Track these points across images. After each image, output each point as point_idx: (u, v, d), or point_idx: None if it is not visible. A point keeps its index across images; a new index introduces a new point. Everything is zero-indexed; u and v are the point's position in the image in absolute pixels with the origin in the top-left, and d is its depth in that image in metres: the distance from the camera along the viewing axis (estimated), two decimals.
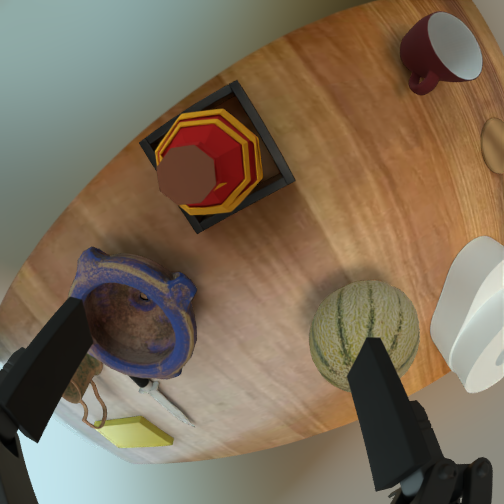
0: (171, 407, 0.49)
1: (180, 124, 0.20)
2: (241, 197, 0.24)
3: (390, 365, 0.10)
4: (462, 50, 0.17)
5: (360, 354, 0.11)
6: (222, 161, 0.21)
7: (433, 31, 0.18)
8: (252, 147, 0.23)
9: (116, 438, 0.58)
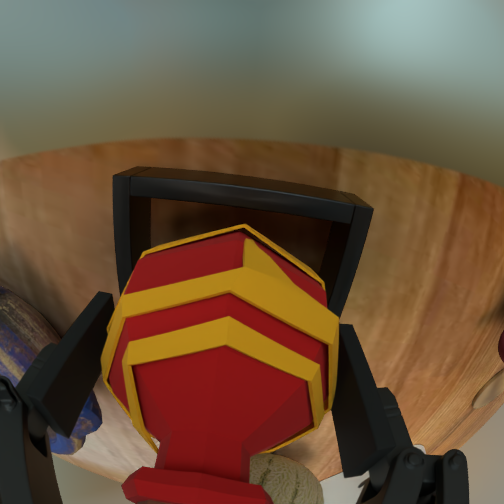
0: None
1: (228, 332, 0.07)
2: None
3: (359, 351, 0.10)
4: None
5: None
6: (261, 450, 0.08)
7: None
8: None
9: None
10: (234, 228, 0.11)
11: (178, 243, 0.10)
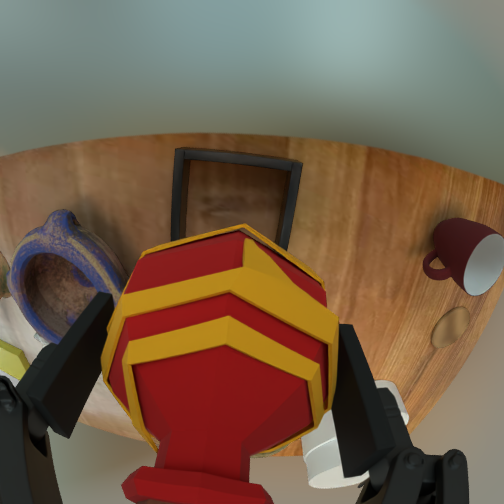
0: None
1: (228, 332, 0.07)
2: None
3: (359, 351, 0.10)
4: (485, 261, 0.26)
5: None
6: (260, 450, 0.08)
7: None
8: None
9: None
10: (234, 228, 0.11)
11: (178, 243, 0.11)
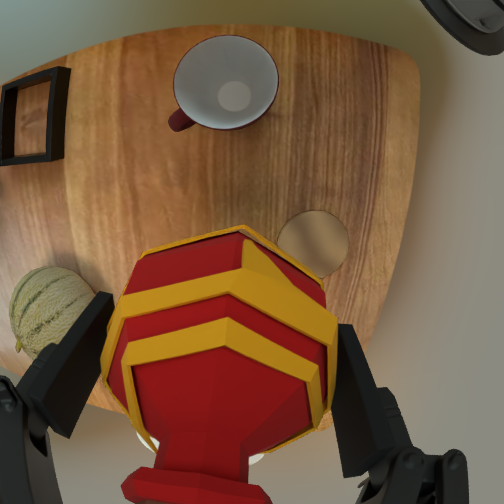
0: None
1: (227, 333, 0.07)
2: None
3: (359, 351, 0.10)
4: None
5: None
6: (259, 451, 0.08)
7: (256, 67, 0.21)
8: None
9: None
10: (233, 229, 0.11)
11: (177, 244, 0.11)
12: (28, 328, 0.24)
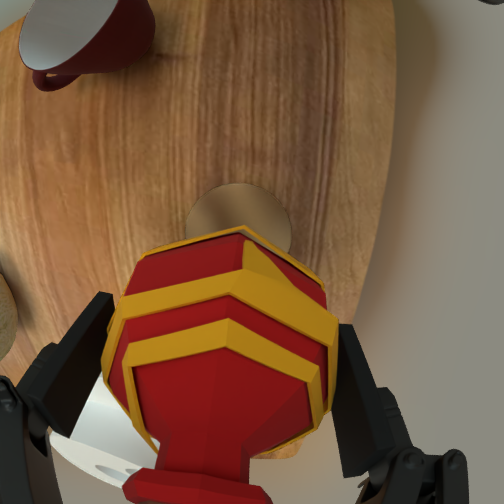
0: None
1: (228, 334, 0.07)
2: None
3: (359, 351, 0.10)
4: None
5: None
6: (260, 451, 0.08)
7: None
8: None
9: None
10: (234, 229, 0.11)
11: (178, 244, 0.11)
12: None
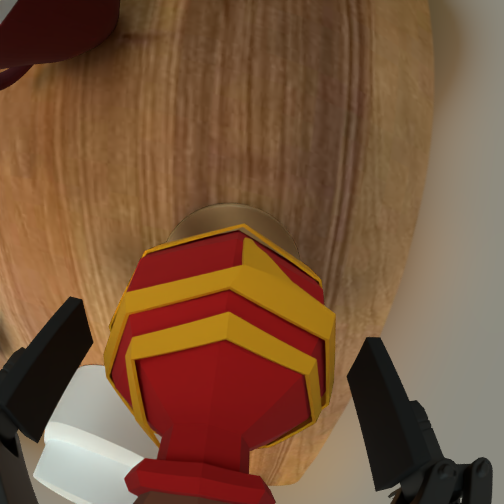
0: None
1: (228, 327, 0.07)
2: None
3: (390, 365, 0.10)
4: None
5: (360, 354, 0.11)
6: (260, 444, 0.08)
7: None
8: None
9: None
10: (234, 228, 0.11)
11: (179, 242, 0.11)
12: None
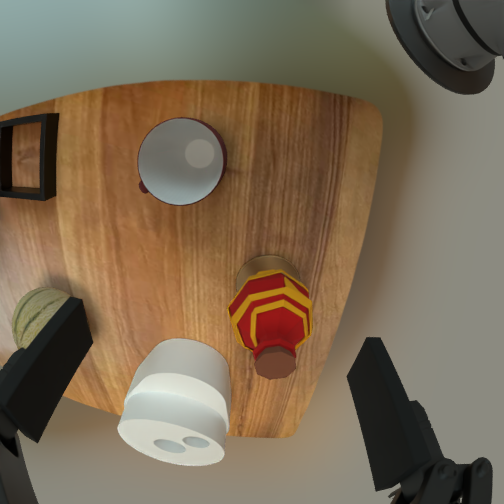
0: None
1: (283, 303, 0.28)
2: None
3: (390, 365, 0.10)
4: None
5: (360, 354, 0.11)
6: None
7: (214, 135, 0.27)
8: None
9: None
10: (279, 272, 0.32)
11: (260, 277, 0.32)
12: (29, 342, 0.28)
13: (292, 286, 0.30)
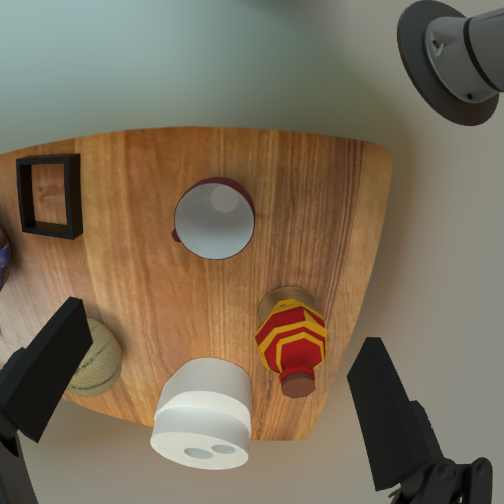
0: None
1: (304, 335, 0.32)
2: None
3: (390, 365, 0.10)
4: None
5: (360, 354, 0.11)
6: (308, 367, 0.33)
7: None
8: None
9: None
10: (299, 305, 0.36)
11: (283, 310, 0.36)
12: None
13: (311, 319, 0.34)
